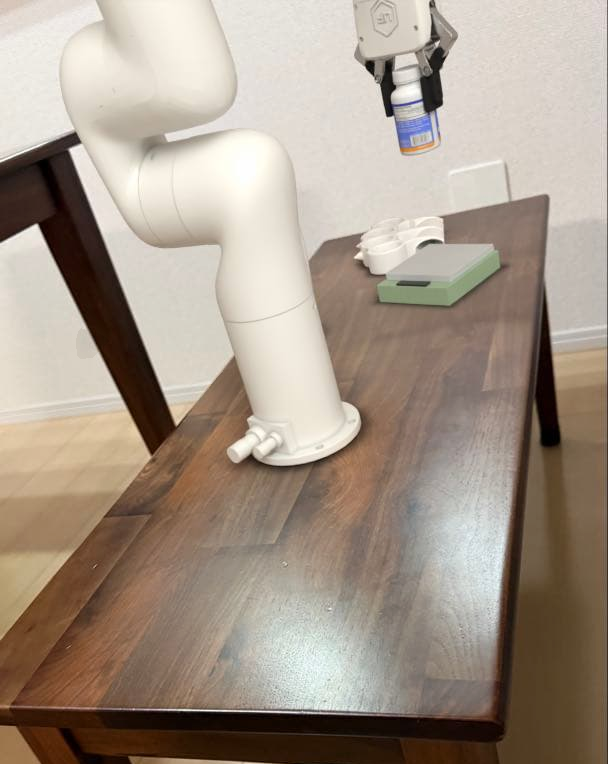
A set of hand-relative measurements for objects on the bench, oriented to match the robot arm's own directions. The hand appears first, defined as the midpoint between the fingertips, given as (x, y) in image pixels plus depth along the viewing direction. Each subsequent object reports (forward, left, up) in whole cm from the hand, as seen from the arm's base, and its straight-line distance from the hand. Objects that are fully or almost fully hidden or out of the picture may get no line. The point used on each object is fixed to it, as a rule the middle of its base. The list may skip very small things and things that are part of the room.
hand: (414, 110), depth 107 cm
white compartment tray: (+11, +16, -23) cm, 30 cm away
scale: (0, 0, -23) cm, 23 cm away
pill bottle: (0, 0, -5) cm, 5 cm away
